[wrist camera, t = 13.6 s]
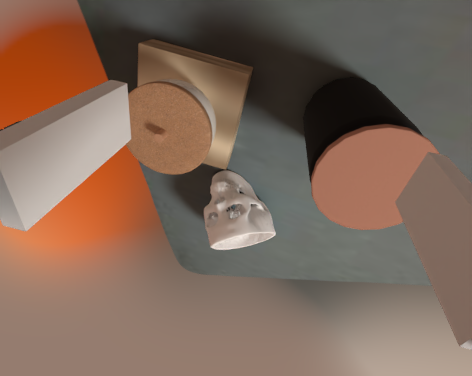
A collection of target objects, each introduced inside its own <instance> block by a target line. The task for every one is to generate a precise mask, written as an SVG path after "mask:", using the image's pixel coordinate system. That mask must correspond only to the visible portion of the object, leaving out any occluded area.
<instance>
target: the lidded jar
mask: <svg viewBox="0 0 472 376" xmlns="http://www.w3.org/2000/svg"><path fill="white" fill-rule="evenodd" d="M128 101H129V115H130V128H131V140H130V141H129V142H128V143H126V145H127V147H128V148H129V150H130V151H131V152H132V154H133V155H134V156H135V157H136V158H137V159H138V160H139V161H140V162H141V163H143V164H144V165H145V166H147V167H149V168H151V169H153V170H155V171H157V172H161V173H164V174H183V173H187V172H190V171H192V170H193V169H195V168H196V167H198V166H199V165H200V164H201V163H202V162H203V161H204V159H205V158H206V156H207V154H208V153H209V150H210V147H211V145H212V143H213V140H214V137H215V132H216V117H215V113H214V109H213V107H212V105H211V103H210V101H209V100H208V98H207V97H206V96H205V94H204V93H203V92H202V91H201V90H199V89H198V88H197V87H195V86H194V85H192V84H190V83H188V82H186V81H182V80H178V79H161V80H157V81H153V82H149V83H145V84H143V85H141V86H139V87H137V88H135V89H134V90H132V91H131V92H130V93H129V94H128Z"/></svg>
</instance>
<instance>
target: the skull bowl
mask: <svg viewBox="0 0 472 376" xmlns="http://www.w3.org/2000/svg"><path fill="white" fill-rule="evenodd" d="M210 189H211V191H210V193H211V195H212V199H211V201H210V203H209V204H208V205H207V206H206V207H205V208H204V219H205V228H206V230H207V232H208V237H209V242H210V246H211V248H214V249H217V250H227V249H235V248H241V247H246V246H250V245H253V244H256V243H259V242H262V241H265V240H268V239H270V238H272V237H274V236H275V230H274V227H273V223H272V217H271V214H270V212H269V210H268V208H267V207H266V205H265V204H264V203H263V202H262V201H260V200H259V199H258V198H257V196H256V195H255V193H254V191H253V189H252V187H251V185H250V184H249V183H248V182H247V181H246V180H245V179H244V178H243V177H241V176H240V175H238V174H237V173H235V172H232V171H229V170H224V171H220V172H218V173H216V174H215V175H214V176H213V177H212V185H211V186H210ZM239 190H240V191H241V192H243V193H244V194H240V193H239ZM233 204H235V205H236V207H235V209H234V210H233V209H232V208H231V206H232V205H233ZM251 204H253V205H252V206H251ZM228 207H229V208H230V210H229V209H228ZM226 210H228V212H227V211H226Z"/></svg>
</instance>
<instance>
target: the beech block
mask: <svg viewBox="0 0 472 376" xmlns="http://www.w3.org/2000/svg"><path fill="white" fill-rule="evenodd" d="M252 71H253V67H250V66H246V65H243V64H239V63H236V62H232V61H229V60H225V59H222V58H218V57H215V56H211V55H208V54H204V53H201V52H197V51H194V50H190V49H187V48H183V47H180V46H176V45H173V44H169V43H166V42H162V41H159V40H155V39H151V40H148V41H144V42H141V43H139V44H138V87H139V86H141V85H143V84H145V83H149V82H153V81H157V80H161V79H178V80H182V81H186V82H188V83H190V84H192V85H194V86H195V87H197V88H198V89H199V90H201V91H202V92H203V93H204V94H205V96H206V97H207V98H208V100H209V101H210V103H211V105H212V107H213V109H214V113H215V117H216V132H215V137H214V140H213V143H212V145H211V147H210V150H209V153H208V154H207V156H206V158H205V159H204V161H203V162H202V163H204V164H207V165H211V166H214V167H218V168H221V169H225V170H226V168H227V165H228V163H229V160H230V157H231V154H232V150H233V146H234V142H235V138H236V134H237V130H238V126H239V122H240V118H241V114H242V110H243V106H244V102H245V98H246V94H247V90H248V86H249V83H250V79H251V75H252Z"/></svg>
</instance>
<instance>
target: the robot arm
mask: <svg viewBox="0 0 472 376" xmlns="http://www.w3.org/2000/svg"><path fill="white" fill-rule="evenodd" d="M130 140H131V128H130V115H129V101H128V88H127V83H124V82H119V81H115V80H109V81H107V82H104V83H102V84H100V85H98V86H96V87H94V88H91V89H89V90H87V91H85V92H83V93H81V94H79V95H76V96H74V97H72V98H70V99H68V100H66V101H64V102H62V103H59V104H57V105H55V106H53V107H51V108H49V109H47V110H44V111H42V112H40V113H38V114H36V115H34V116H31V117H29V118H27V119H25V120H23V121H19V122H16V123H14V124H12V125H10V126H7V127H5V128H4V130H3V129H1V130H0V220H1V222H2V224H3V225H4V226H7V227H12V228H15V229H19V230H22V231H27V230H28V229H29V228H30V227H32V226H33V225H34V224H35V223H36V222H37V221H38V220H40V219H41V218H42V217H43V216H44V215H45V214H47V213H48V212H49V211H50V210H51V209H52V208H53V207H54V206H56V205H57V204H58V203H59V202H60V201H61V200H62V199H64V198H65V197H66V196H67V195H68V194H69V193H70V192H72V191H73V190H74V189H75V188H76V187H77V186H78V185H80V184H81V183H82V182H83V181H84V180H85V179H86V178H88V177H89V176H90V175H91V174H92V173H93V172H94V171H95V170H96V169H98V168H99V167H100V166H101V165H102V164H103V163H105V162H106V161H107V160H108V159H109V158H110V157H112V156H113V155H114V154H115V153H116V152H117V151H118V150H119V149H121V148H122V147H123V146H124V145H125V144H126V143H128V142H129V141H130ZM395 203H396V206H397V208H398V210H399V212H400V215H401V217H402V219H403V221H404V224H405V226H406V228H407V230H408V233H409V235H410V237H411V239H412V241H413V244H414V246H415V248H416V250H417V253H418V255H419V257H420V259H421V262H422V264H423V266H424V268H425V271H426V273H427V275H428V277H429V279H430V282H431V284H432V286H433V288H434V291H435V293H436V295H437V297H438V300H439V302H440V304H441V306H442V309H443V311H444V313H445V315H446V317H447V320H448V322H449V324H450V326H451V329H452V331H453V333H454V335H455V337H456V340H457V342H458V344H459V346H460V347H463V348H467V349H471V350H472V184H471V183H470V181H469V180H468V179H467V178H466V177H465V176H464V175H463V174H462V172H461V171H460V170H459V169H458V168H457V167H456V166H455V165H454V163H453V162H452V161H451V160H450V159H449V158H448V157H447V156H444V155H440V154H436V153H431V152H428V153H427V154H426V156H425V158H424V159H423V161H422V162H421V164H420V165H419V167H418V168H417V170H416V171H415V173H414V174H413V176H412V177H411V179H410V180H409V182H408V183H407V185H406V186H405V188H404V189H403V191H402V192H401V194H400V196H399V197H398V199H397V200H396V202H395Z"/></svg>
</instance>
